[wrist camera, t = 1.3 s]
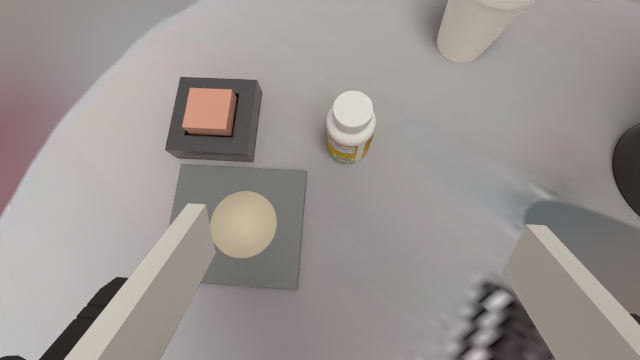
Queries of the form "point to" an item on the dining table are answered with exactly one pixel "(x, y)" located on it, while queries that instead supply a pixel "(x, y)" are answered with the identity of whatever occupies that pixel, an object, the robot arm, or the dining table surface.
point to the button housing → (217, 146)
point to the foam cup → (475, 26)
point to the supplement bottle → (350, 127)
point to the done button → (210, 111)
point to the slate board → (248, 222)
